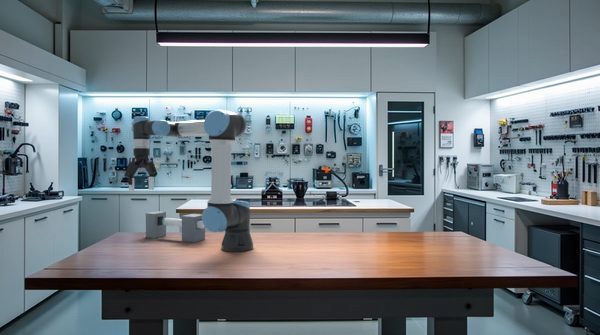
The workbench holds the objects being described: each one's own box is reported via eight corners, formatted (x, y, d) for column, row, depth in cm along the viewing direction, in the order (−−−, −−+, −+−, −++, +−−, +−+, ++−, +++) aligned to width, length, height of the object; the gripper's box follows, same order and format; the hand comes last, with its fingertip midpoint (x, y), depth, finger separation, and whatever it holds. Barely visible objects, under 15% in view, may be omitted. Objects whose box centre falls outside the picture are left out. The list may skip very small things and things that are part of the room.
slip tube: (205, 228, 220) (205, 219, 219) (200, 229, 216) (200, 221, 215) (167, 224, 229) (167, 216, 229) (161, 226, 225) (161, 218, 225)
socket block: (166, 235, 233) (165, 211, 232) (154, 238, 225) (154, 213, 224) (157, 234, 235) (157, 211, 235) (145, 237, 227) (145, 213, 227)
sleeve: (205, 239, 223) (205, 214, 222) (194, 242, 214) (194, 216, 214) (192, 237, 226) (192, 213, 225) (181, 240, 218) (181, 215, 217)
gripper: (152, 148, 222) (153, 188, 222) (116, 147, 199) (116, 192, 199) (164, 148, 219) (164, 188, 219) (128, 147, 196) (128, 192, 196)
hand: (141, 190), depth 209 cm, fingers open, 13 cm apart
